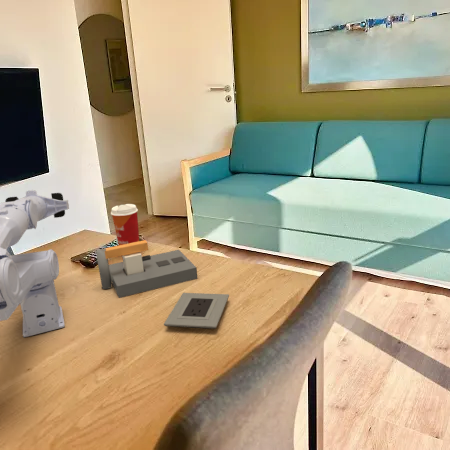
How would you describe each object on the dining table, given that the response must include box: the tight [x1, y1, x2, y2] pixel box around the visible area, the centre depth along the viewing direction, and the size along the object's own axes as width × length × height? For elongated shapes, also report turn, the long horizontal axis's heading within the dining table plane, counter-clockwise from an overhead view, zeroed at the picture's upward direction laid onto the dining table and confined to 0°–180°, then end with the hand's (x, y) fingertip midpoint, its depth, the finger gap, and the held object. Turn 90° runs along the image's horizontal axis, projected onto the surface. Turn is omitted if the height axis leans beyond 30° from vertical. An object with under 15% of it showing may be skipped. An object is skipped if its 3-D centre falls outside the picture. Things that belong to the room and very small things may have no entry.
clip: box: [95, 239, 149, 290], centre depth 107 cm, size 12×2×10 cm, turn 114°
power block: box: [109, 249, 199, 299], centre depth 111 cm, size 14×20×3 cm
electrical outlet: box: [163, 292, 230, 330], centre depth 91 cm, size 13×10×2 cm
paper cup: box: [110, 203, 140, 246], centre depth 126 cm, size 8×8×14 cm
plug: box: [121, 252, 151, 276], centre depth 109 cm, size 4×6×8 cm, turn 114°
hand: (42, 204), depth 106 cm, fingers open, 7 cm apart
